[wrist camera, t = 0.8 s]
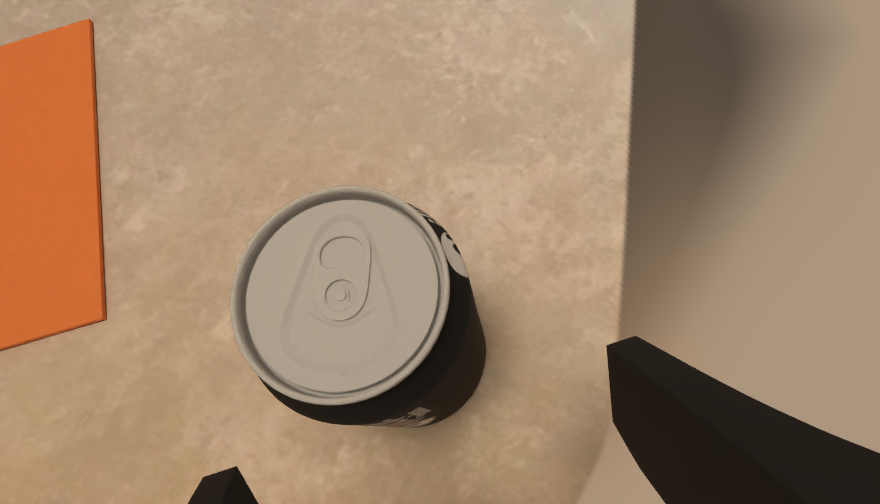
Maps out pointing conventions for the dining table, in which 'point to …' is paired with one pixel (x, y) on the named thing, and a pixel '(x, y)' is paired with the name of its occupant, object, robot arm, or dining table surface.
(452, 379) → the beverage can
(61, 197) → the napkin
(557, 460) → the dining table surface
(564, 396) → the dining table surface
